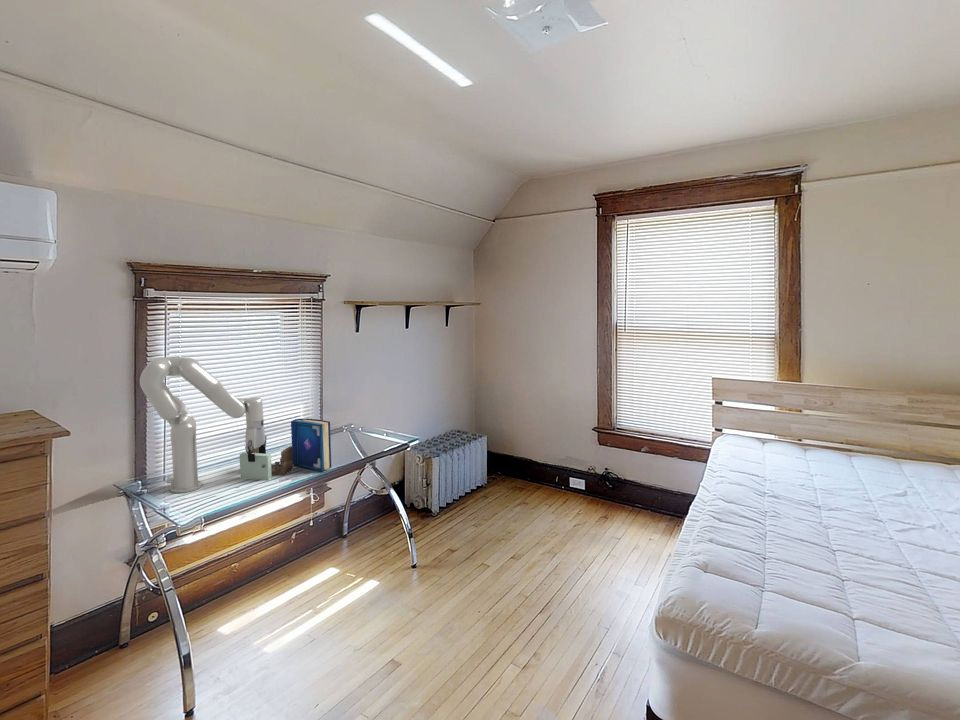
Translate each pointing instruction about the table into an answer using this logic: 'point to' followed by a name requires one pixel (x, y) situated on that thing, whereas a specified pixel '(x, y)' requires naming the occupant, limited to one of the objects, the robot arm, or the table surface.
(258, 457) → the door
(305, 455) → the book
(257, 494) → the table surface
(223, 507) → the table surface
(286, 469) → the brown wooden holder
